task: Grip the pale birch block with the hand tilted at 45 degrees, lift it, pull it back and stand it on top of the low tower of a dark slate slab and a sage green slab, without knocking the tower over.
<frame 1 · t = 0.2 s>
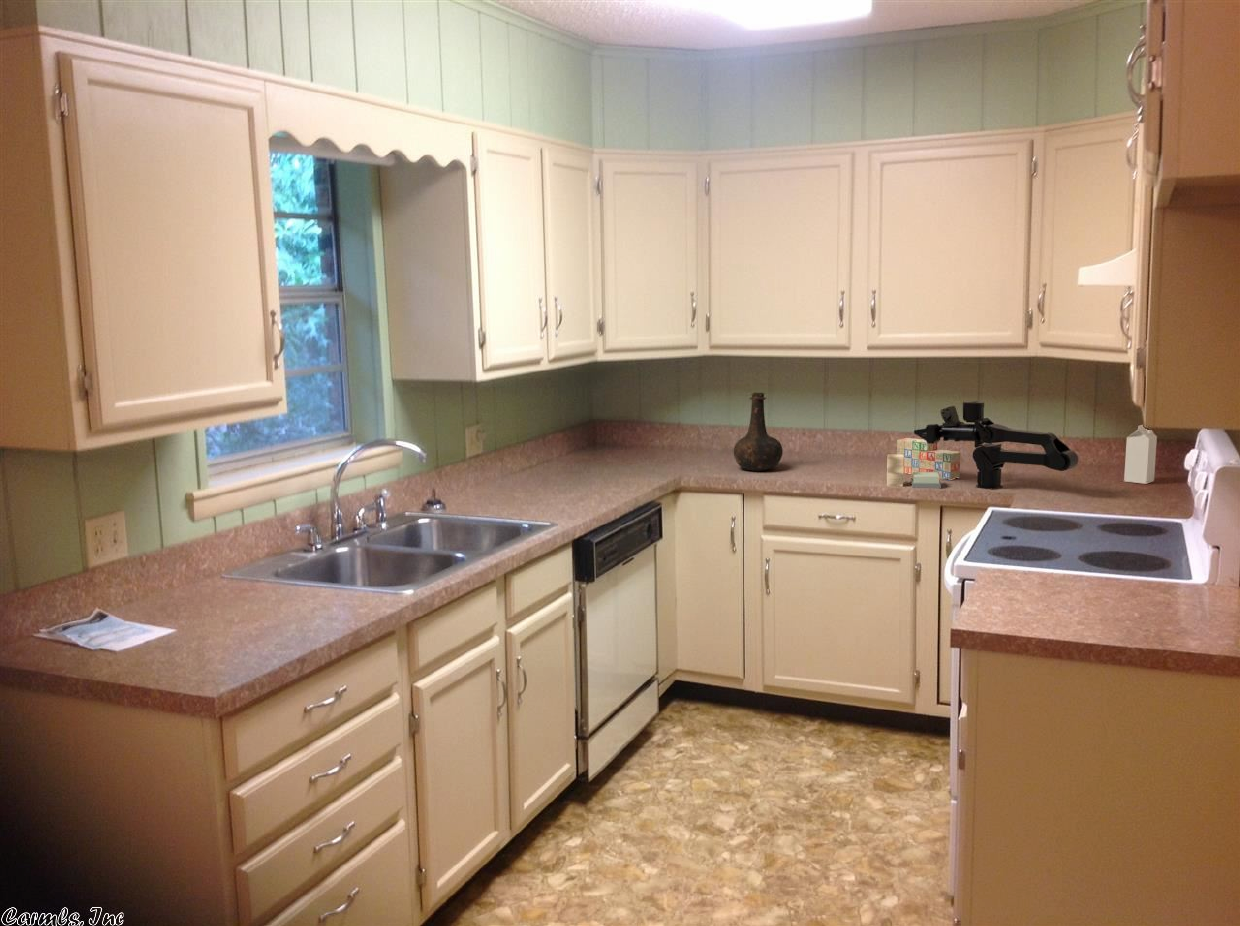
hand: (921, 430, 367), 17 cm above the worktop, tool horizontal, fingers open, 9 cm apart
stack of blocks: (927, 476, 375), on the worktop
tower top: (925, 480, 357), point 2 cm above the worktop, touching tower base
tower base: (925, 487, 357), on the worktop, touching tower top
glass bottle: (757, 469, 393), on the worktop
tall block: (894, 485, 359), on the worktop
milk carton: (1138, 482, 357), on the worktop
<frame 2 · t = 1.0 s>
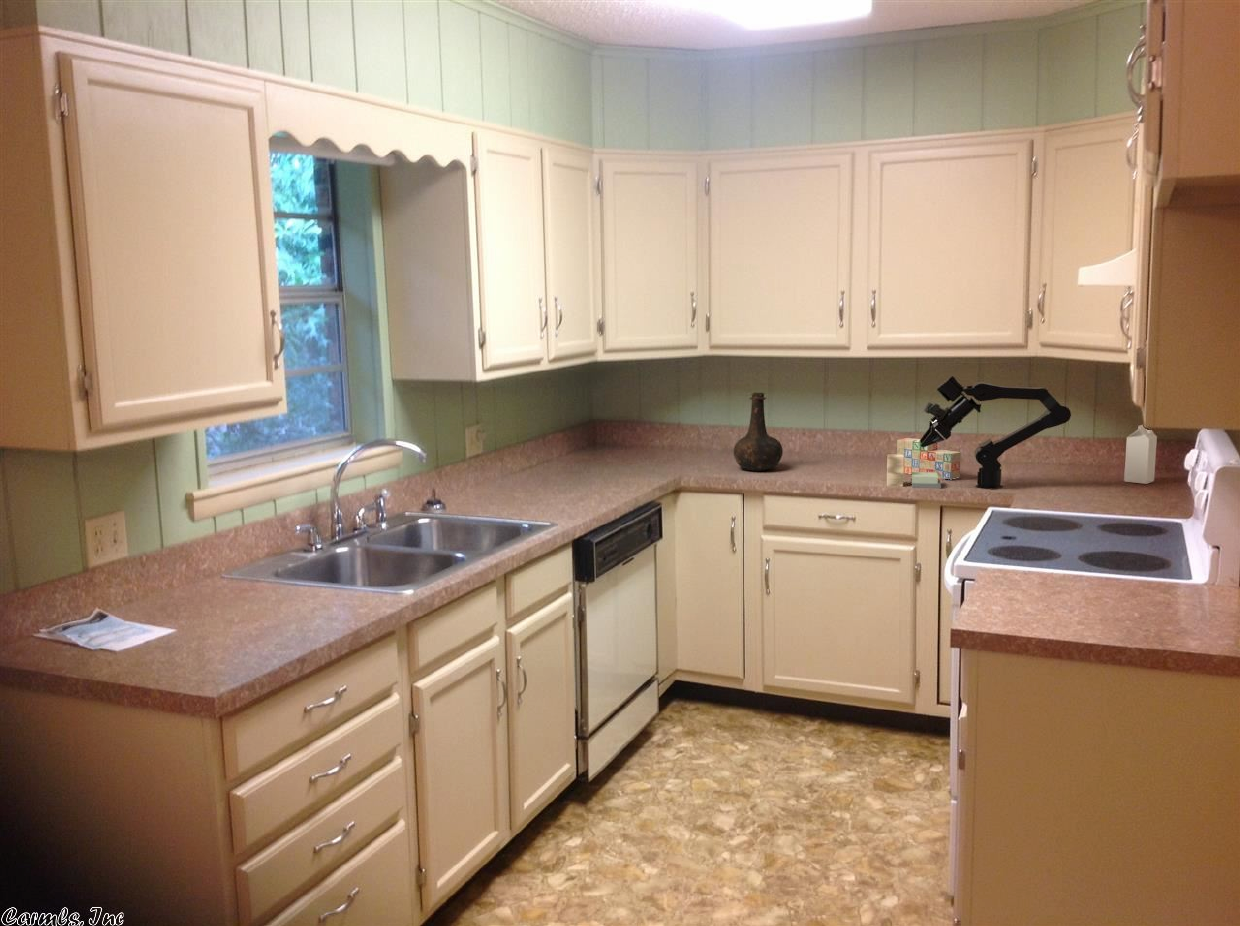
hand: (920, 444, 355), 14 cm above the worktop, tool tilted 45°, fingers open, 9 cm apart
nothing on the worktop moved.
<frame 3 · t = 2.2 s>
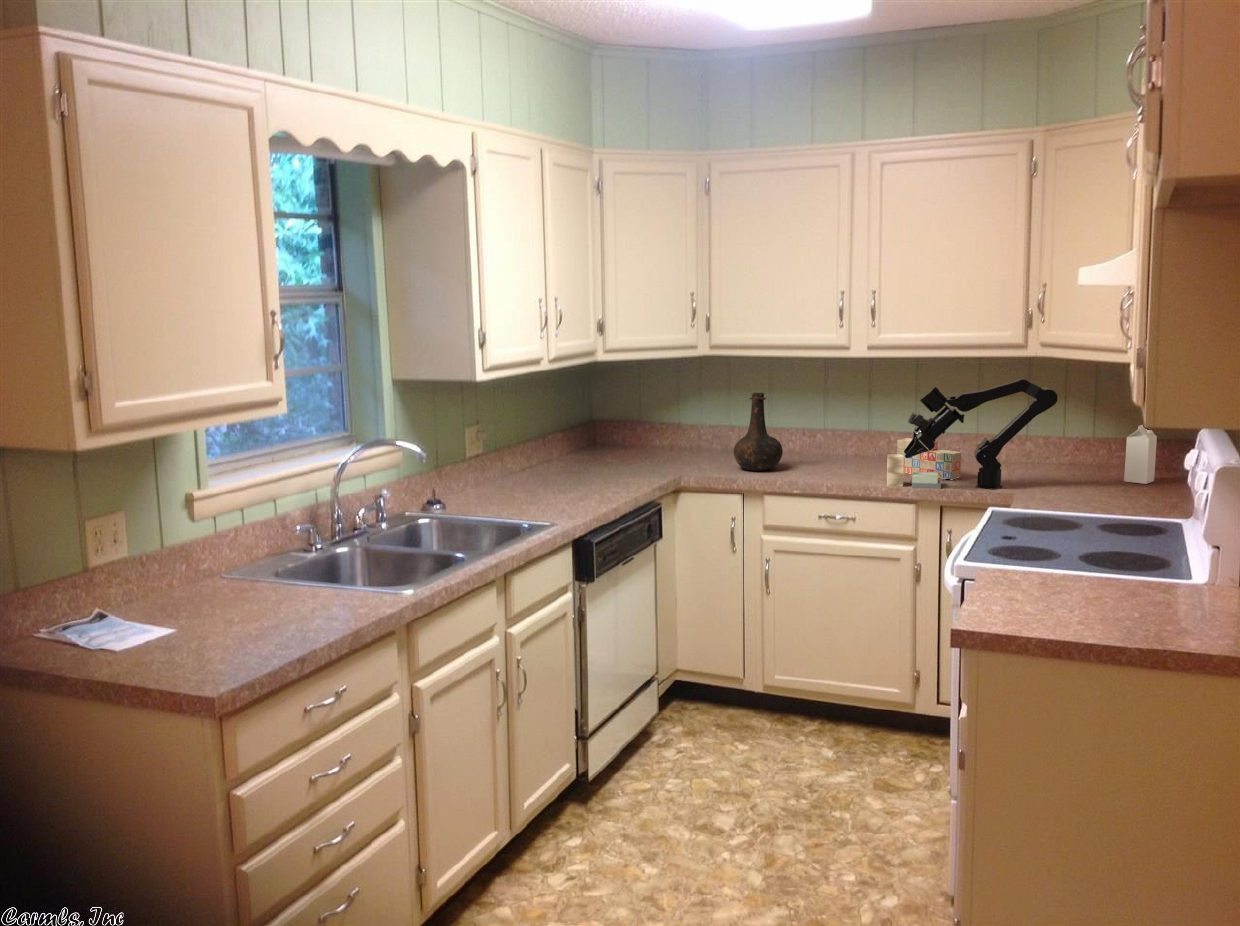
hand: (905, 455, 357), 10 cm above the worktop, tool tilted 45°, fingers open, 9 cm apart
nothing on the worktop moved.
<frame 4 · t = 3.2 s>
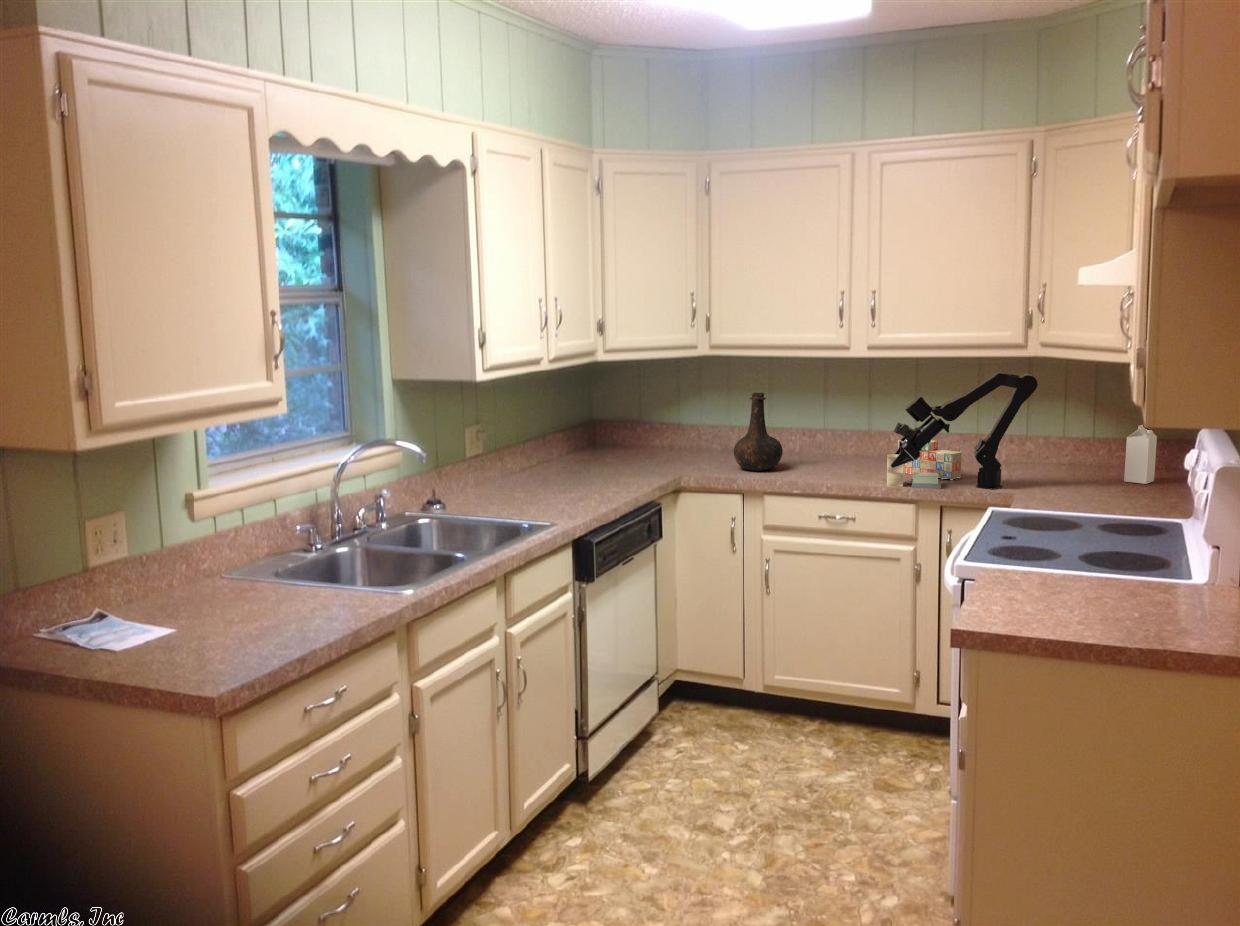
hand: (891, 464, 358), 7 cm above the worktop, tool tilted 45°, fingers open, 9 cm apart
nothing on the worktop moved.
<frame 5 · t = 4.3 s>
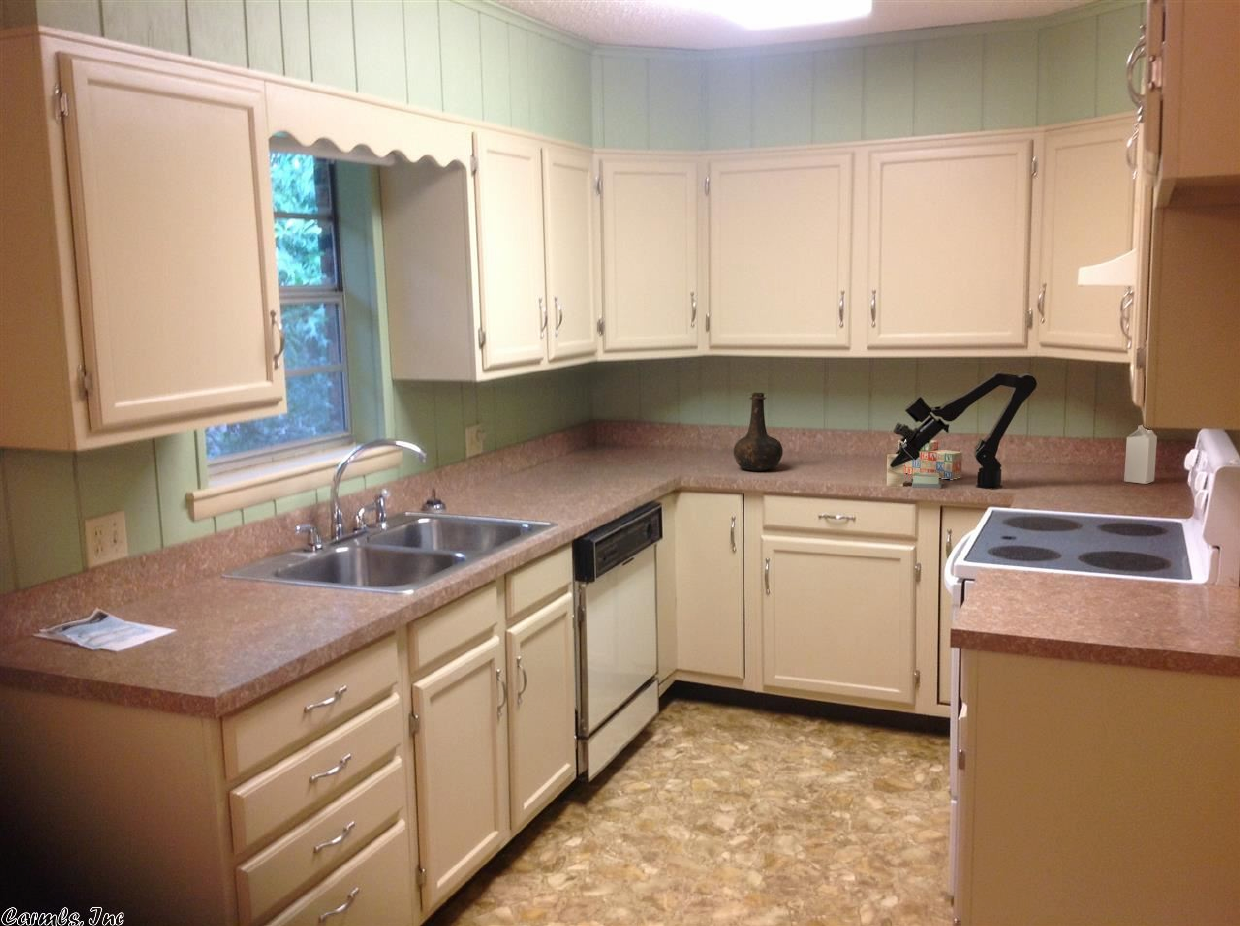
hand: (890, 464, 358), 7 cm above the worktop, tool tilted 45°, fingers closed on tall block, 5 cm apart
tall block: (894, 485, 359), on the worktop, touching gripper
everything else where it was.
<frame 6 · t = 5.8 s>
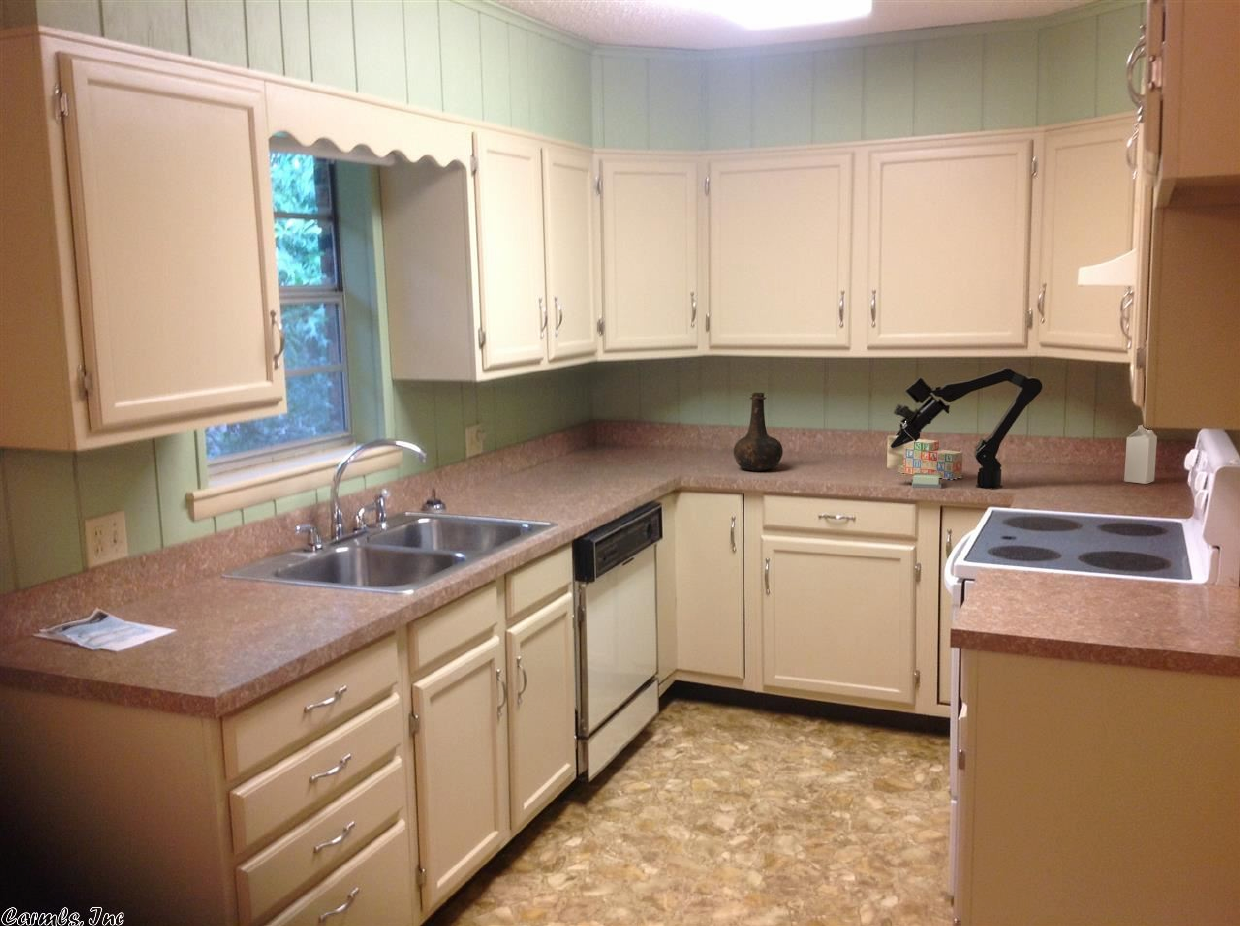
hand: (891, 446, 357), 13 cm above the worktop, tool tilted 45°, fingers closed on tall block, 5 cm apart
tall block: (895, 466, 358), point 6 cm above the worktop, touching gripper
everything else where it was.
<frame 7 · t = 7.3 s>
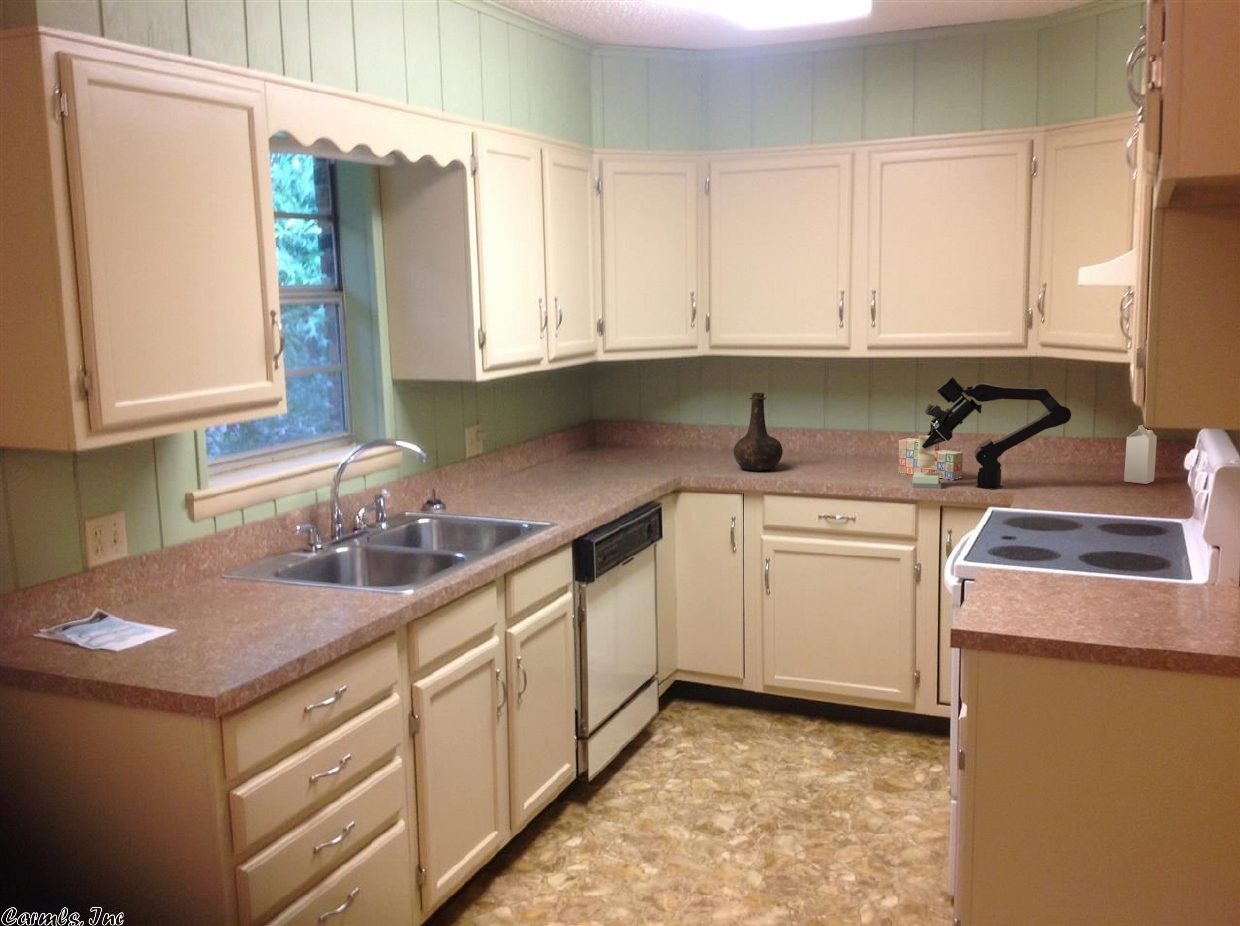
hand: (922, 446, 355), 13 cm above the worktop, tool tilted 45°, fingers closed on tall block, 5 cm apart
tower top: (926, 481, 356), point 2 cm above the worktop
tower base: (925, 487, 357), on the worktop
tall block: (926, 466, 356), point 6 cm above the worktop, touching gripper
everything else where it was.
when the fingers open (12 cm above the worktop, at t = 8.3 s): tall block drops 2 cm, resting on tower top.
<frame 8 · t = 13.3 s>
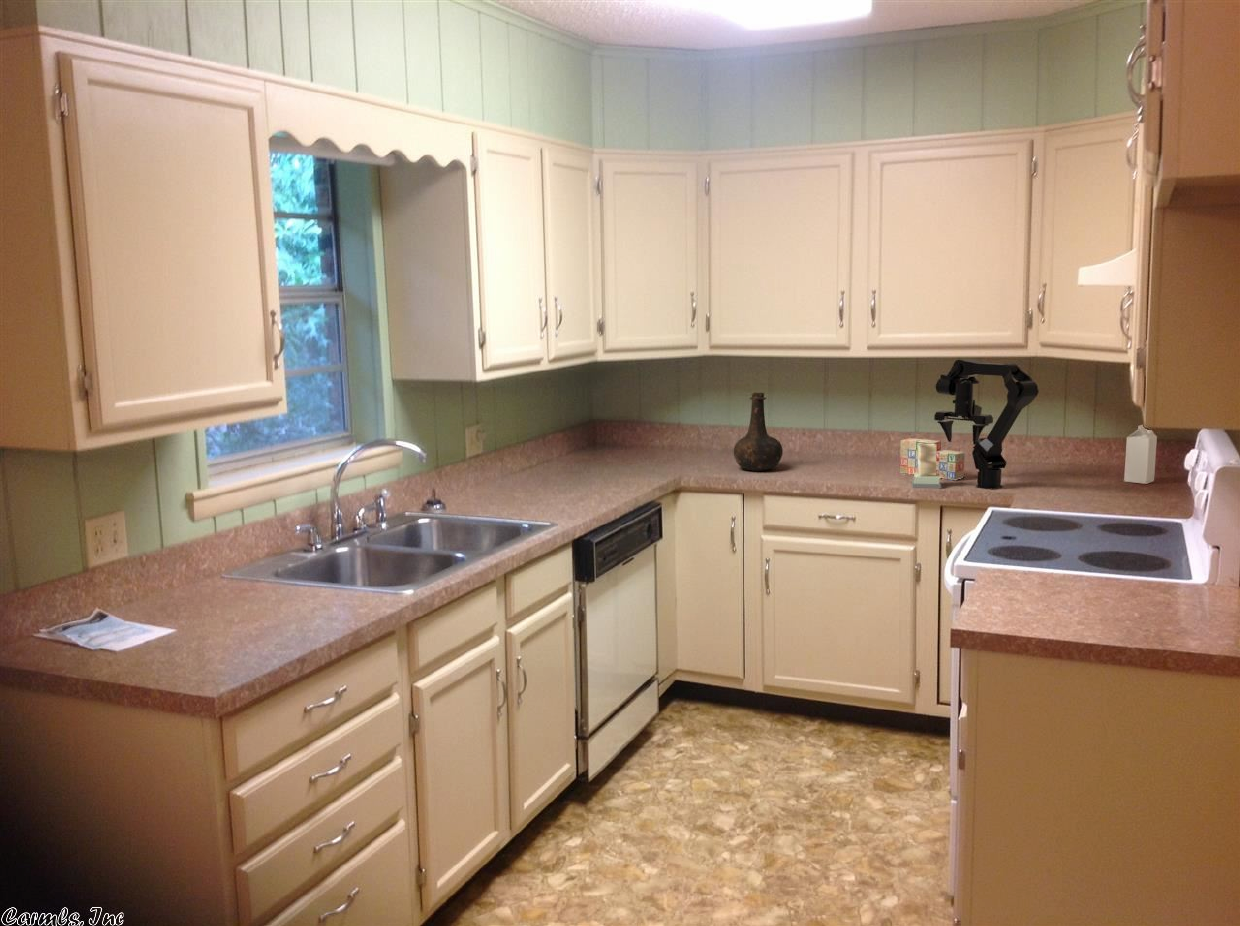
hand: (962, 443, 361), 13 cm above the worktop, tool pointing down, fingers open, 9 cm apart
tower top: (926, 481, 356), point 1 cm above the worktop, touching tall block, tower base
tower base: (925, 488, 357), on the worktop, touching tower top
tall block: (926, 474, 356), point 4 cm above the worktop, touching tower top
at the end: tall block 0.1 cm off-centre on the tower base, point 4.7 cm above the tower base's base; tall block tilted 5°; tower top 0.2 cm off-centre on the tower base, point 2.2 cm above the tower base's base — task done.
